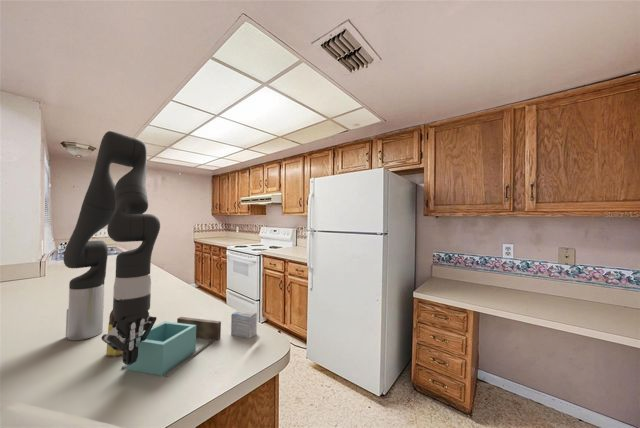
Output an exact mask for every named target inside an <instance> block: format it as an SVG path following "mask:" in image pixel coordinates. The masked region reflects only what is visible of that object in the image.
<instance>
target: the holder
mask: <svg viewBox="0 0 640 428" xmlns="http://www.w3.org/2000/svg"><path fill="white" fill-rule="evenodd" d="M144 332H145V331H143V334H144ZM127 344H128V343H127ZM196 344H197V338H196V325H191V324H183V323H177V322H173V321H166V320H165V321H163V322H161V323H159V324H156V325H153V327H152V329H151V331H150V332H149V334H148V336H147V338H146V340H145V341H142V342H141V343H140V345H139V346H138V358H137V361H136V362H134V363H133V364H131V365H127V367H126V369H125V370H126V371H133V372H138V373H144V374H150V375H154V376H155V375H156V376H160V377H161V376H164V374H165V373H167V372H168V371H169V370H171V369H172V368H173V367H175V366H176V365H178V364H179V363H180V362H182V361H183V360H184V359H186V358H187V357H188V356H190V355H191V354H192V353H194V352H195V351H197V349H196V347H197V345H196Z"/></svg>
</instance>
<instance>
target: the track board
mask: <svg viewBox="0 0 640 428" xmlns="http://www.w3.org/2000/svg"><path fill="white" fill-rule="evenodd" d="M176 321H177V322H176V323H183V324H191V325H196V339H203V340H209V341H207V342H206V343H205V344H203V345H201V346H200V347H199V348H198V349H196V351H195V352H194V353H192V354H191V355H190V356H188V357H187V358H186V359H184V360H183V361H182V362H180V363H179V364H178V365H176V366H175V367H173V368H172V369H171V370H169V371H168V372H167V373H165V374H164V375H163V376H164V377H165V378H166V377H167V378H169V377H170V376H171V375H173V373H175V372H176V371H177V370H179V369H180V368H182V367H183V366H184V365H185V364H187V363H188V362H190V361H191V360H192V359H193V358H195V357H196V356H197V355H198V354H200V353H201V352H203V351H205V349H206V348H208V347H210V345H212V344H213V343H214V342H216V341H219V340H220V339H221V336H222V335H221V334H222V333H221V332H222V325H221V324H222V321H220V320H212V319H204V318H202V319H201V318H196V317H195V318H193V317H185V316H180V317H179V316H178V318H177V320H176ZM126 367H127V364H124V365H122V366H121V370H126Z"/></svg>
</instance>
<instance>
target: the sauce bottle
mask: <svg viewBox="0 0 640 428" xmlns="http://www.w3.org/2000/svg"><path fill="white" fill-rule="evenodd" d="M114 320H115V318H114V315H113V309H112V310H111V311H110V314H109V322H108V326H107V334H108V333H109V332H110V331H111V330H112V325H113V322H114ZM117 334H118V333H117ZM118 336H119V334H118ZM118 339H119V338H118ZM105 352H106V357H108V358H119V357H123V351H119V350H114V349H113V348H112V347H110V346H109V345H108V344H107V343H106V351H105Z"/></svg>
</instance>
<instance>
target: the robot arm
mask: <svg viewBox="0 0 640 428" xmlns="http://www.w3.org/2000/svg"><path fill="white" fill-rule="evenodd" d="M97 152H98V153H97V157H96V160H95V161H96V162H95V164H94V165H95V166H94V169H93V173H92V176H91V179H90V182H89V186H88V188H87V191H86V193H85V195H84V198H83V201H82V203H81V208H80V211H79V214H78V219H77V221H76V224H75V227H74V229H73V231H72V233H71V236H70V238H69V240H68V242H67V245H66V247H65V249H64V253H63V263H64V265H65V267H66V268H68V269H82V268H84V269H85V268H89V269H88V270H87V271H86V272H84V273H82V274H81V275H79V276H76V277H74V278H72V279H70V280H69V283H68V284H69V286H68V308H67V309H66V315H65V316H66V319H65V323H66V324H65V338H66V339H67V340H68V341H82V340H87V339H89V338H90V339H91V338H93V337H95V336H98V335H100V334H101V333H103V329H104V326H103V325H104V304H105V303H104V302H105V282H106V281H105V279H106V274H107V263H108V255H109V254H108V253H109V252H108V251H109V250H108V245H107V243H106V242H105V241H104V240H90V239H91V238H92V237H93V236H94V235H95V234H97V233H98V232H99V231H101V230H102V229H103V228H105V227H107V229H106V230H107V235H108V237H109V238H110V239H111V240H112V241H114V242H117V243H128V242H129V243H132V242H141V244H140V245H139V246H138V247H137V248H135V249H130V250H126V251H122V252H119V253H118V254H117V255H116V259H115V276H114V277H115V278H114V285H113V291H112V292H113V295H112V299H113V301H112V310H113V315H114V318H115V320H114V322H113V325H112V330H111V331H110V332H109V333H108V332H107V333H106V334H102V336H101V340H102V341H103V342H104V343H105V344H106V345H107V344H108V345H109V346H110V347H112V348H113V349H114V350H119V351H123V356H122V363H123V364H124V365H126V364H127V365H131V364H133V363H134V362H136V361H137V358H138V346H139V345H140V343H141V342H142V341H145V340H146V338H147V336H148V334H149V332H150V331H151V329H152V327H154V326H155V323H156V322H157V316H151V315H150V312H149V310H150V309H151V298H152V297H151V296H152V293H151V292H152V279H151V265H152V264H151V262H152V261H151V260H152V255H153V250H154V247H155V244H156V241H157V239H158V236H159V233H160V229H161V222H160V219H159V217H157V216H156V215H155V214H153V213H152V214H151V213H146V211H148V208H149V200H148V195H147V188H146V187H147V186H146V177H147V161H148V147H147V146H146V143H145V142H143V141H142V140H141V139H138V138H134V137H131V136H129V135H125V134H123V133H120V132H119V133H118V132H117V131H110V130H109V131H107V132H105V133H104V134H103V136H102V139H101V141H100V146H99V149H98V151H97ZM111 164H116V165H120V166H121V165H122V166H125V167H128V168H132V169H131V170H129V171H128V172H127V173H125V174H124V175H123V176H122V177H120V178H119V179H118V180H117V182H116V183H115V182H114V178H113V176H112V174H111V170H110V167H111ZM144 331H145V332H144ZM143 332H144V334H143ZM117 333H118V334H119V336H118V334H117ZM118 338H119V339H118ZM127 343H128V344H127Z"/></svg>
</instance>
